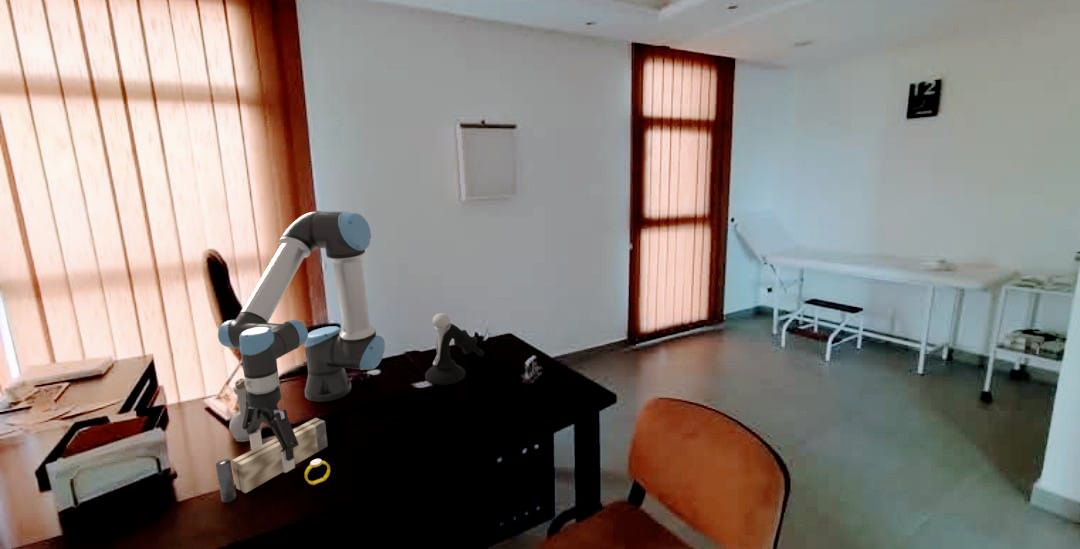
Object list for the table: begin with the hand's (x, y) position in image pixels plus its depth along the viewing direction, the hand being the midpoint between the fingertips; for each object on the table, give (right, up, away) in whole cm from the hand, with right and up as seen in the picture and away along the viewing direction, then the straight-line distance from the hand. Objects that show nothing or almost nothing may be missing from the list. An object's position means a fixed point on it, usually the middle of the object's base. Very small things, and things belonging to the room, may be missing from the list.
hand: (273, 462), depth 135 cm
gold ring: (+13, -4, -3) cm, 14 cm away
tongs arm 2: (+3, -2, +3) cm, 4 cm away
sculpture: (+38, +11, +61) cm, 73 cm away
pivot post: (-6, -6, -9) cm, 12 cm away
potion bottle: (-17, +1, +18) cm, 25 cm away
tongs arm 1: (+1, -2, +4) cm, 4 cm away
